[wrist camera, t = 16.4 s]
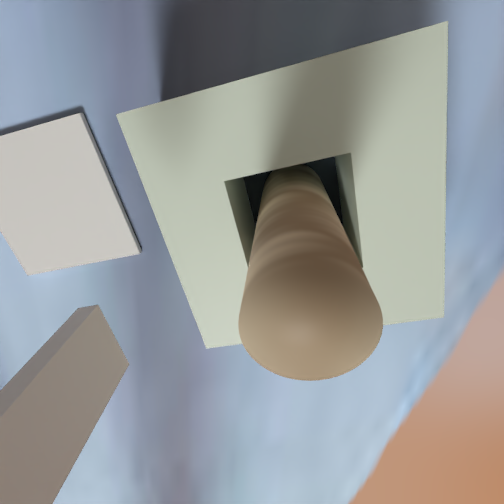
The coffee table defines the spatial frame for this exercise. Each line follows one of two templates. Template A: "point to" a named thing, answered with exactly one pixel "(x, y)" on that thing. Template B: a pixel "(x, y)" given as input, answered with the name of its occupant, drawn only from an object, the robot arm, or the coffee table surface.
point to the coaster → (60, 198)
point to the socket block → (302, 151)
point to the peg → (305, 285)
